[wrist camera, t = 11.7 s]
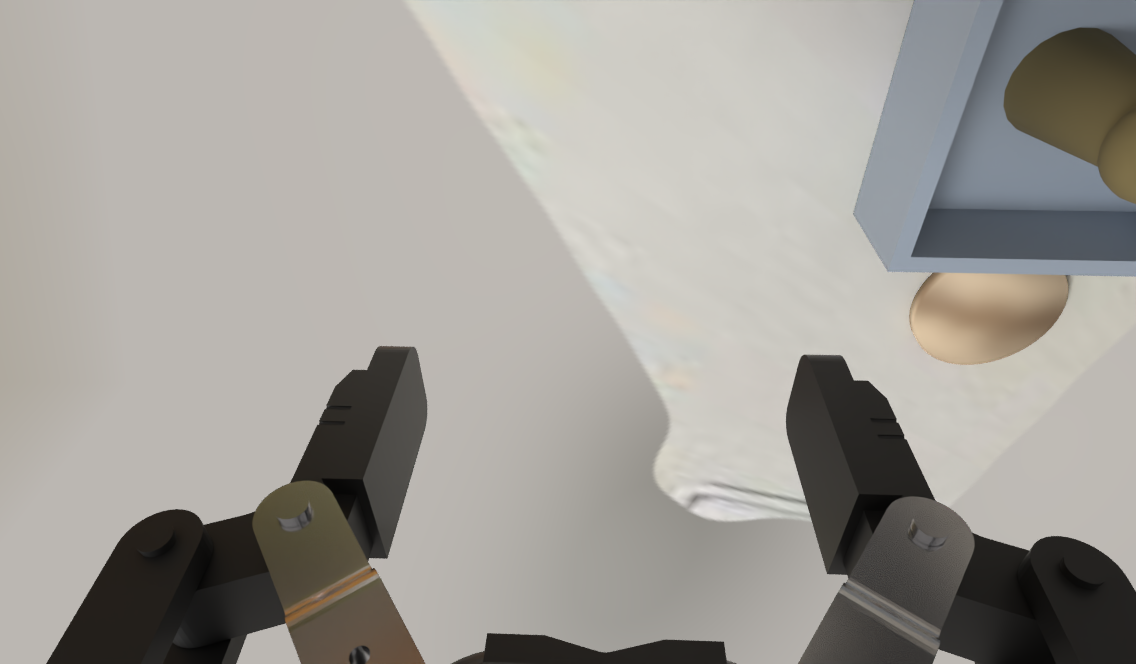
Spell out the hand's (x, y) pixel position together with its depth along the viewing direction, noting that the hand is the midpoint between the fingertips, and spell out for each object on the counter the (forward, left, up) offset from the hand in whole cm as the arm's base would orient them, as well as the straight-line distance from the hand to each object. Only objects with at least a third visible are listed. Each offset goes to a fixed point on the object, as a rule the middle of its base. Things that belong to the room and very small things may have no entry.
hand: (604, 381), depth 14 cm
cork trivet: (+19, +28, -30) cm, 45 cm away
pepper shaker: (+3, +26, -29) cm, 39 cm away
